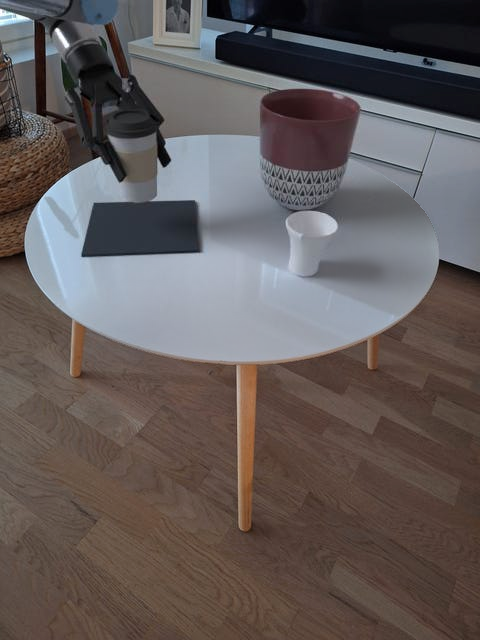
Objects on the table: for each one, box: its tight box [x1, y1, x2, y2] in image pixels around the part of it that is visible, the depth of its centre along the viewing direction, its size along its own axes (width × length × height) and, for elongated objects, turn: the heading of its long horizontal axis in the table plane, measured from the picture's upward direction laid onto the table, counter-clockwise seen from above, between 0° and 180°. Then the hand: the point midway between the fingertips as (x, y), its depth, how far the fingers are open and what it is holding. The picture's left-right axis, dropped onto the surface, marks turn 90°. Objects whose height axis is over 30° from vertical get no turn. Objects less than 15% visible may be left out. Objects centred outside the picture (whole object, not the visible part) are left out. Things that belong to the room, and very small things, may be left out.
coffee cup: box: [104, 109, 159, 203], centre depth 85 cm, size 9×9×15 cm
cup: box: [285, 210, 339, 278], centre depth 82 cm, size 9×9×10 cm
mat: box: [80, 199, 201, 258], centre depth 95 cm, size 22×20×1 cm
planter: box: [259, 88, 362, 211], centre depth 97 cm, size 20×20×21 cm
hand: (145, 171), depth 84 cm, fingers closed on coffee cup, 9 cm apart
